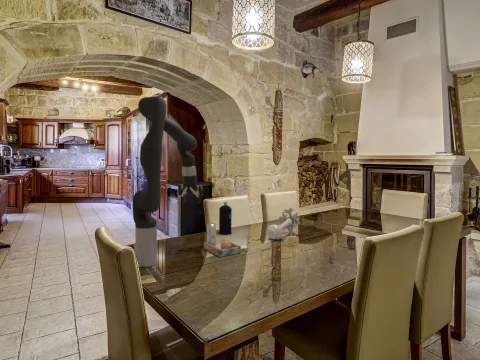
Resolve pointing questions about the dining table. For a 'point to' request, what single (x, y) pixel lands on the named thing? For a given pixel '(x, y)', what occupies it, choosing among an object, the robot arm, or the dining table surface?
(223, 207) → the aerosol can
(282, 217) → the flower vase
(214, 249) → the channel
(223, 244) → the cylinder
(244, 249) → the dining table surface
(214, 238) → the shaft
